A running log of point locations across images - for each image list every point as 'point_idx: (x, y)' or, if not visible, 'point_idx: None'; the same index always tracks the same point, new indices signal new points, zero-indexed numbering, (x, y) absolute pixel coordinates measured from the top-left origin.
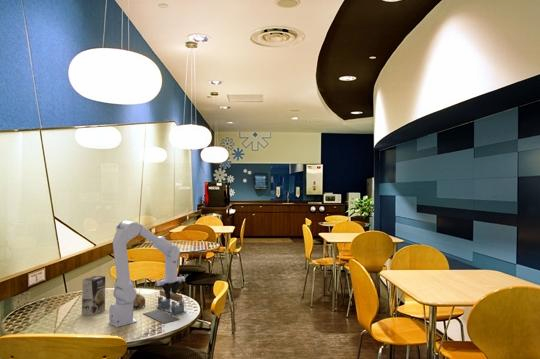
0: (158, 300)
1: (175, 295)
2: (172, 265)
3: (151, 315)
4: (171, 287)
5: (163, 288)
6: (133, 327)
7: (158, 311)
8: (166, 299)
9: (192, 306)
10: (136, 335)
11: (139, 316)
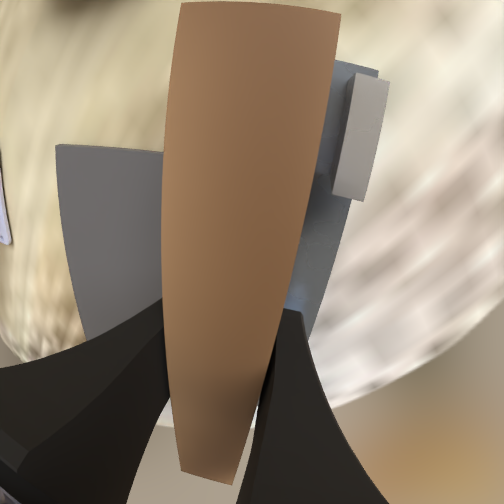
0: None
1: (186, 454)
2: None
3: (76, 235)
4: (263, 438)
5: (40, 371)
6: (2, 277)
7: (147, 204)
8: (324, 123)
9: (445, 327)
10: (11, 334)
11: (35, 167)
